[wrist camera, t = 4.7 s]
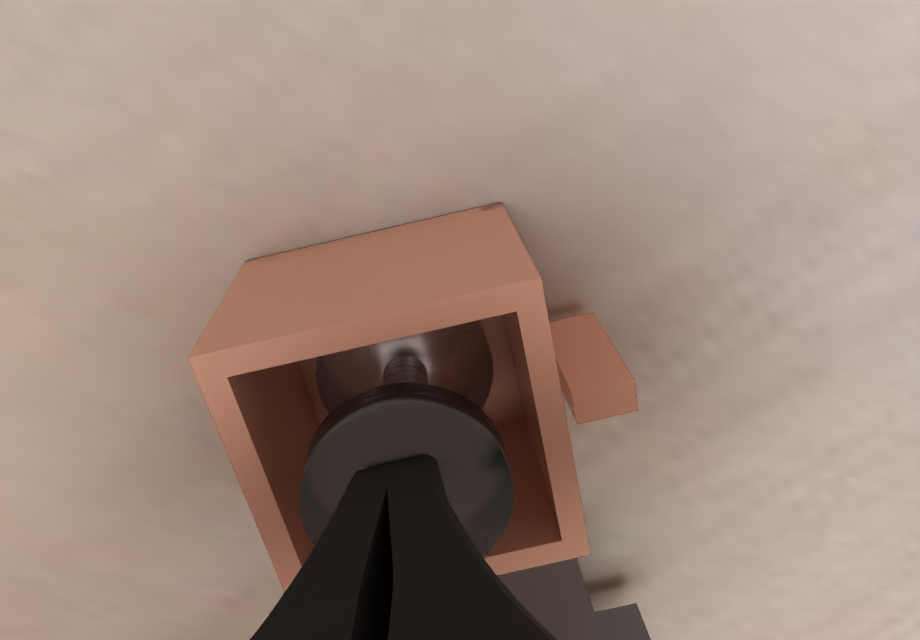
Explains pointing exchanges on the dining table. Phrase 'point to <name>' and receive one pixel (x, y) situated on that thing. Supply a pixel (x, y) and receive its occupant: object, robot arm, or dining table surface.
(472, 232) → the tan open box
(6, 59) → the dining table surface
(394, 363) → the dark metallic spool
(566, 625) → the gray open box
